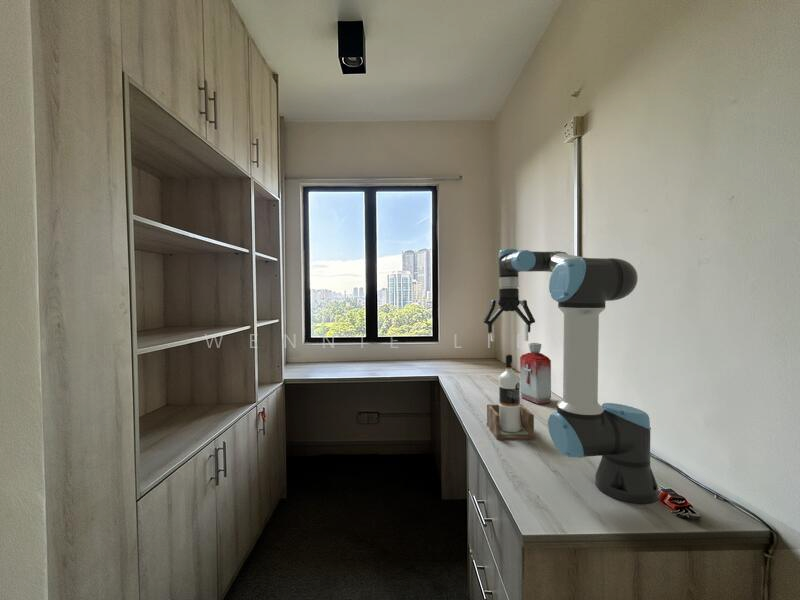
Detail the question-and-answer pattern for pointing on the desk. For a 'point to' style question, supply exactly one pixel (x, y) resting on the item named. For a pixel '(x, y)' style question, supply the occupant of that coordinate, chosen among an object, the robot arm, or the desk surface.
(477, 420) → the desk surface
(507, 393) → the vodka
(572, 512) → the desk surface
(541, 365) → the bottle
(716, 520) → the desk surface
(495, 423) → the wooden box
